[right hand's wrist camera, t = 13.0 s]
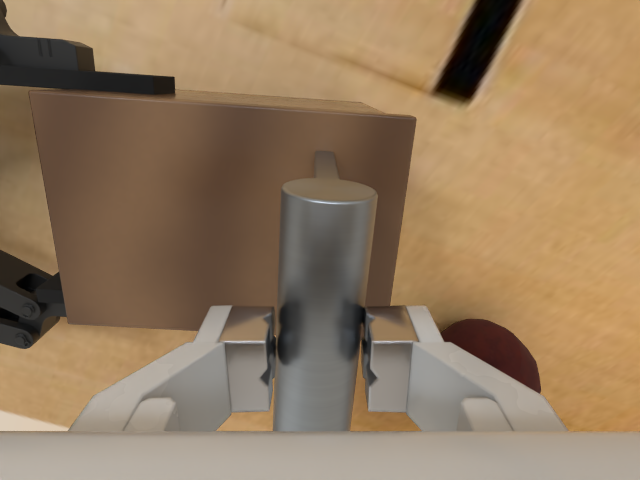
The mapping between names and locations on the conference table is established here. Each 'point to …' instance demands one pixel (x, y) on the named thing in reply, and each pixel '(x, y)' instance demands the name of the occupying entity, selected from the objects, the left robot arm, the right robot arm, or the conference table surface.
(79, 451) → the right robot arm
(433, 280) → the conference table surface
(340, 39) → the conference table surface
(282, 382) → the lid
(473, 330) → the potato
